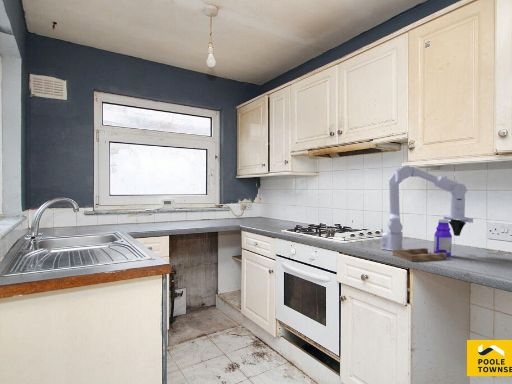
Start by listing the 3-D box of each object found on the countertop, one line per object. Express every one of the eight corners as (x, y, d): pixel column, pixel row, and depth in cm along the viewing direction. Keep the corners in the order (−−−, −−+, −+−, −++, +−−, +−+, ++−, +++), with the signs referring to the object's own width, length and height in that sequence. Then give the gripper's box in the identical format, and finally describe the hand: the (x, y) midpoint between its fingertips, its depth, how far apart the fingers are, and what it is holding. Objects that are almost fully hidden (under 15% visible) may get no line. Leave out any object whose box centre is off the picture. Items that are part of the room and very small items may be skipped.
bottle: (445, 254, 148) (446, 219, 148) (453, 257, 143) (454, 220, 142) (431, 254, 148) (432, 218, 148) (438, 257, 142) (439, 220, 142)
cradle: (425, 253, 150) (425, 248, 150) (446, 259, 138) (446, 253, 138) (392, 255, 145) (392, 250, 145) (411, 261, 133) (411, 255, 133)
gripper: (478, 209, 141) (477, 237, 141) (451, 206, 155) (450, 233, 155) (466, 209, 139) (465, 238, 139) (440, 206, 153) (439, 233, 154)
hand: (456, 235), depth 147 cm, fingers closed
